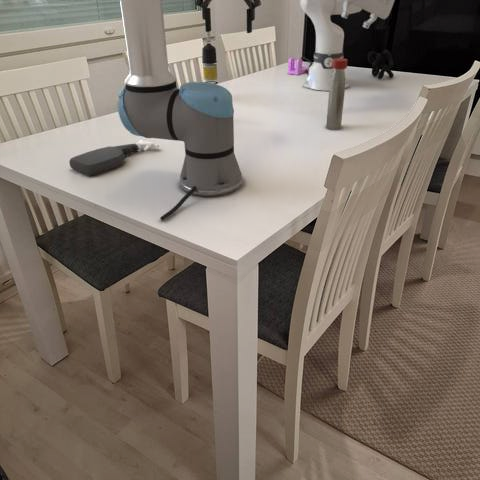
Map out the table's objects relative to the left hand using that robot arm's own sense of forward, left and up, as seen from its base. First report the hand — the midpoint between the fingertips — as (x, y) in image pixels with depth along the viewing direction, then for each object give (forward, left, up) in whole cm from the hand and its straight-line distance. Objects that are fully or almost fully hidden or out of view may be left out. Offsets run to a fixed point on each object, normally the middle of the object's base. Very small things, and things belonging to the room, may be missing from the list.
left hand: (228, 32), depth 139 cm
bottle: (+3, -35, -28) cm, 45 cm away
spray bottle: (-43, +18, -28) cm, 54 cm away
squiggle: (+82, -43, -28) cm, 97 cm away
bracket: (+84, -4, -28) cm, 88 cm away
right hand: (+25, -35, +1) cm, 43 cm away
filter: (+25, +18, -28) cm, 42 cm away
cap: (+3, -35, -7) cm, 36 cm away
